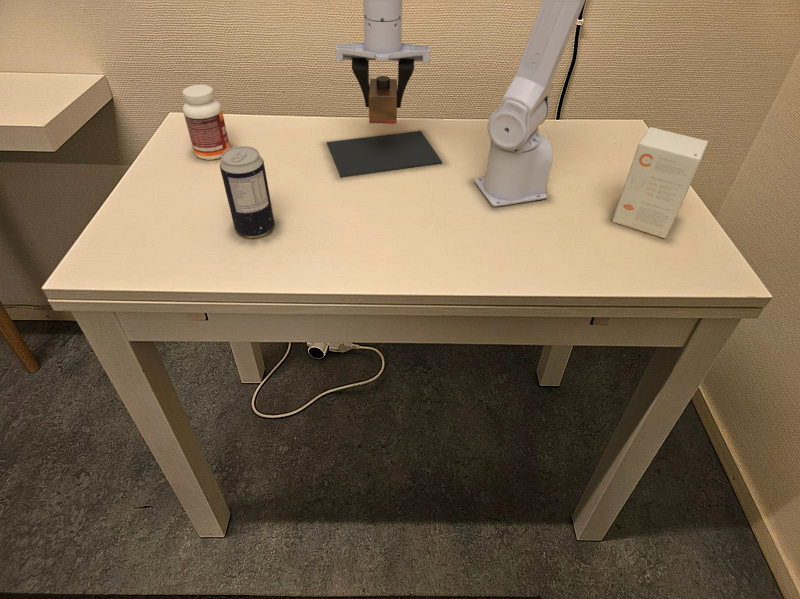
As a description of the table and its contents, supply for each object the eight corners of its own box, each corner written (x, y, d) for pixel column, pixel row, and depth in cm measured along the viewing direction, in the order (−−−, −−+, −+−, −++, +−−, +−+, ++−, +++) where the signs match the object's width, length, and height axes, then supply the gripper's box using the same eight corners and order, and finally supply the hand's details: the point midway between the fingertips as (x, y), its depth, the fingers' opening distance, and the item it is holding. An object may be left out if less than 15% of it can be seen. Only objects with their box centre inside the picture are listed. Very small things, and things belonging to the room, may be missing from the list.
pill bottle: (236, 155, 93) (222, 93, 86) (201, 164, 91) (184, 101, 83) (223, 140, 97) (209, 79, 89) (190, 149, 94) (172, 87, 87)
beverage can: (282, 222, 79) (270, 148, 71) (263, 244, 75) (247, 169, 67) (248, 215, 80) (232, 141, 72) (228, 236, 76) (208, 161, 68)
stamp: (396, 105, 92) (397, 70, 88) (396, 123, 87) (397, 87, 83) (370, 105, 92) (370, 69, 88) (369, 123, 87) (368, 86, 83)
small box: (674, 219, 82) (710, 140, 73) (665, 240, 78) (702, 159, 69) (621, 202, 85) (650, 125, 76) (610, 222, 81) (638, 142, 72)
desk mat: (420, 132, 101) (420, 130, 101) (442, 163, 93) (442, 161, 92) (326, 144, 97) (326, 141, 97) (340, 177, 89) (340, 175, 88)
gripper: (331, 23, 76) (337, 114, 86) (432, 25, 76) (427, 116, 86) (335, 8, 81) (340, 96, 91) (430, 10, 81) (425, 98, 91)
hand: (383, 105), depth 89 cm, fingers closed on stamp, 4 cm apart
